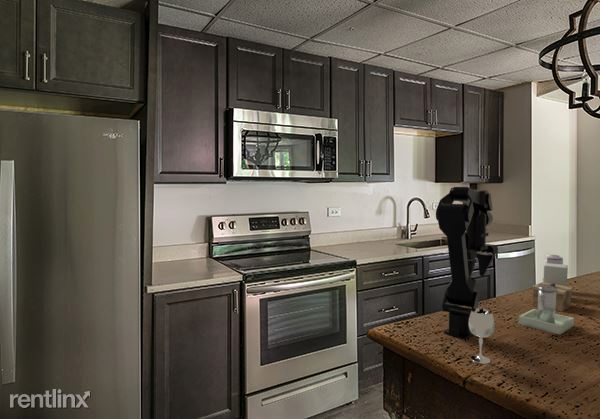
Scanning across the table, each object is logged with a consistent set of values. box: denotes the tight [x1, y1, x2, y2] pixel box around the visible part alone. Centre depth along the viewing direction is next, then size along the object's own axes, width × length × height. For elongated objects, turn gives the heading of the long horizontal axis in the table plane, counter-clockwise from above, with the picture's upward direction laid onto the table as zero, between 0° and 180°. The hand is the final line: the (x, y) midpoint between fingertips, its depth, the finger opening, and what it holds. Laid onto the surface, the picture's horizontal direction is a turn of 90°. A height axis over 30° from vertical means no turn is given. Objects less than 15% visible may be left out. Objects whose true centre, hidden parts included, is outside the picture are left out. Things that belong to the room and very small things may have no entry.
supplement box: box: [542, 263, 569, 286], centre depth 148 cm, size 7×7×13 cm
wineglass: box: [468, 307, 496, 365], centre depth 95 cm, size 6×6×12 cm
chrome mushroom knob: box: [537, 285, 558, 324], centre depth 119 cm, size 5×5×11 cm
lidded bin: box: [531, 281, 574, 312], centre depth 138 cm, size 10×10×8 cm
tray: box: [518, 308, 575, 336], centre depth 119 cm, size 11×11×2 cm
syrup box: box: [543, 254, 564, 266], centre depth 157 cm, size 6×6×14 cm
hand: (474, 278), depth 125 cm, fingers open, 9 cm apart
